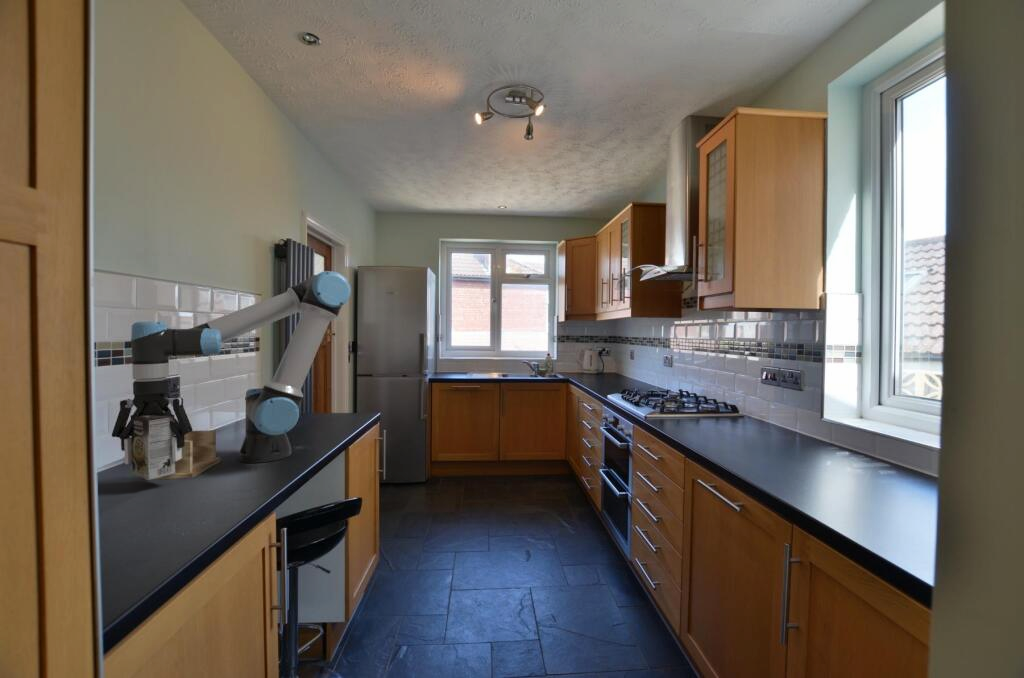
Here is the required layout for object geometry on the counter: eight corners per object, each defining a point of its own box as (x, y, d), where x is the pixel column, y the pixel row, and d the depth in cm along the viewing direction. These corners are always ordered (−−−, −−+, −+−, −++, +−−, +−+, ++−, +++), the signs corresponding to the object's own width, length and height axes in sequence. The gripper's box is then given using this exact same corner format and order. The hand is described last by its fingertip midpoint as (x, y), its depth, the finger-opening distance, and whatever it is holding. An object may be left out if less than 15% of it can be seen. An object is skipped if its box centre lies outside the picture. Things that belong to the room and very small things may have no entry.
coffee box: (131, 475, 116) (129, 415, 115) (159, 468, 122) (158, 410, 121) (148, 480, 112) (146, 418, 111) (176, 473, 117) (175, 413, 117)
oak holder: (220, 461, 139) (220, 429, 139) (191, 478, 123) (192, 442, 123) (179, 462, 137) (179, 430, 137) (144, 479, 121) (144, 443, 121)
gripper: (206, 376, 121) (208, 454, 122) (112, 378, 118) (115, 459, 118) (191, 379, 114) (193, 463, 115) (90, 382, 110) (93, 468, 111)
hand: (153, 461), depth 117 cm, fingers closed on coffee box, 11 cm apart
